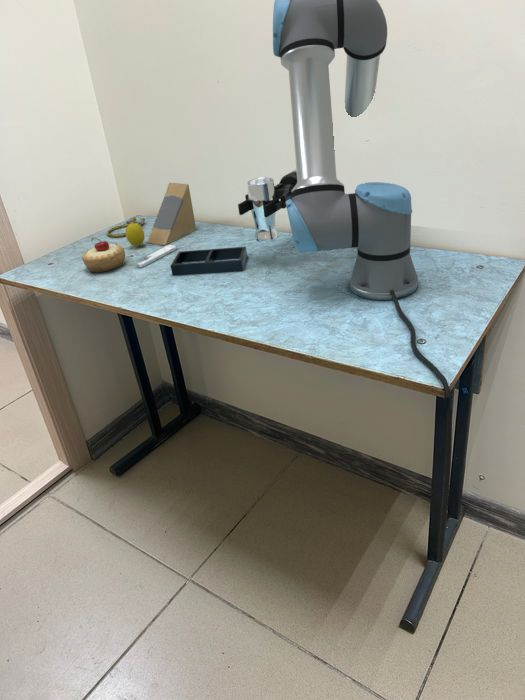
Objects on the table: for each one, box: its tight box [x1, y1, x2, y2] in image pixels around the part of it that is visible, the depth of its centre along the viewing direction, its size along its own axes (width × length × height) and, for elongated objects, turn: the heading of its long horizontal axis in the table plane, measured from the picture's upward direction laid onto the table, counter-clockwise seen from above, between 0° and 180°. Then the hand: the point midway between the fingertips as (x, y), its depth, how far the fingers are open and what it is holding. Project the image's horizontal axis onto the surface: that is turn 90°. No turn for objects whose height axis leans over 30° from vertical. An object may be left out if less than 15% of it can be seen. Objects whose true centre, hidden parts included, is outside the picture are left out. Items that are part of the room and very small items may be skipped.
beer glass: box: [246, 177, 279, 243], centre depth 140 cm, size 7×7×15 cm
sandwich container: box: [146, 182, 197, 246], centre depth 172 cm, size 9×15×15 cm, turn 145°
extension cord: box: [106, 216, 146, 238], centre depth 186 cm, size 12×16×2 cm
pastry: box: [81, 237, 126, 273], centre depth 156 cm, size 12×12×9 cm
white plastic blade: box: [136, 244, 178, 268], centre depth 161 cm, size 5×15×1 cm, turn 145°
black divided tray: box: [170, 246, 248, 277], centre depth 149 cm, size 10×19×3 cm, turn 85°
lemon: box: [125, 222, 145, 248], centre depth 168 cm, size 6×6×8 cm
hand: (252, 210), depth 136 cm, fingers closed on beer glass, 7 cm apart
